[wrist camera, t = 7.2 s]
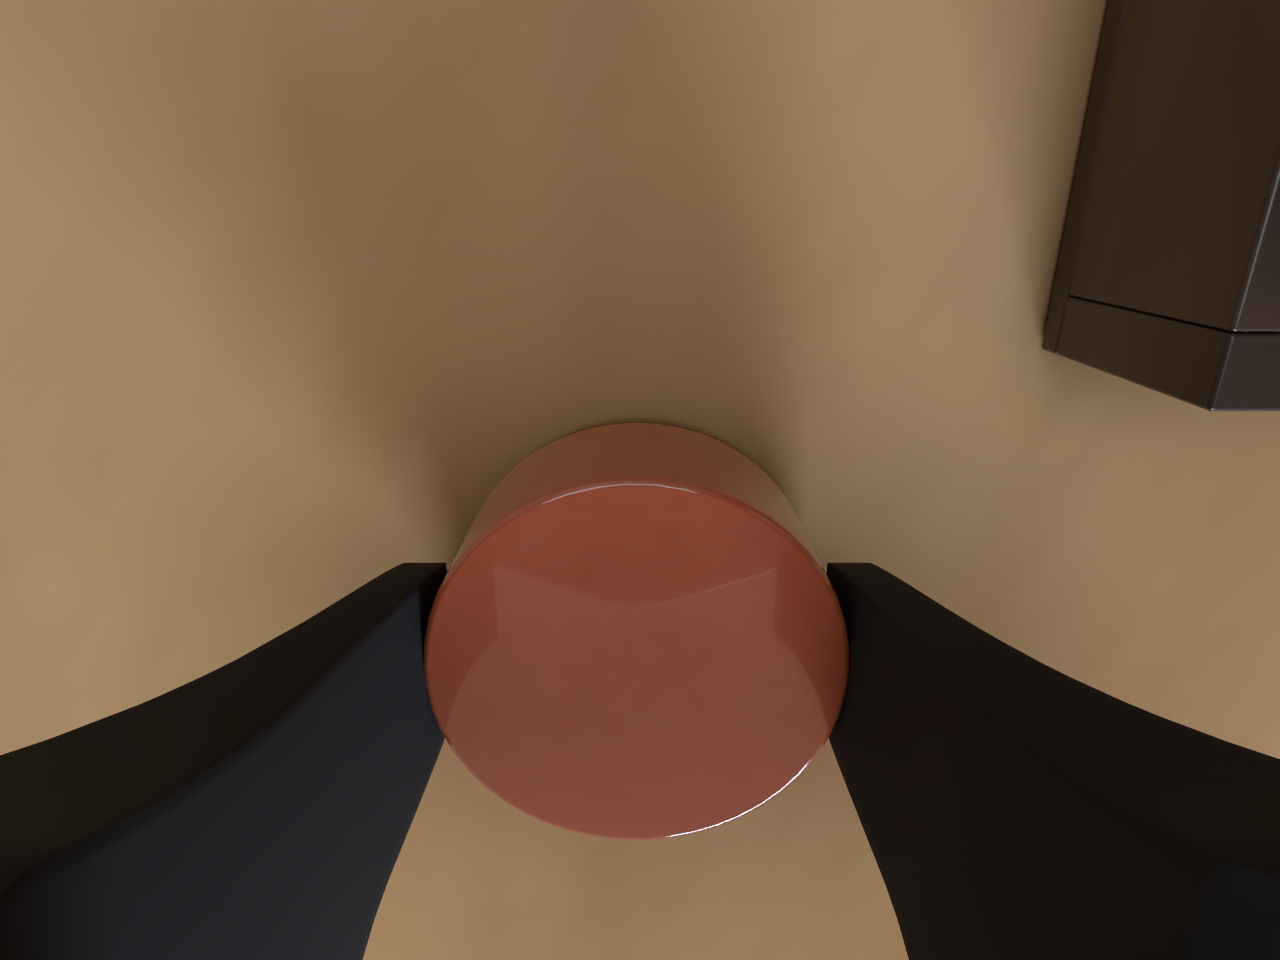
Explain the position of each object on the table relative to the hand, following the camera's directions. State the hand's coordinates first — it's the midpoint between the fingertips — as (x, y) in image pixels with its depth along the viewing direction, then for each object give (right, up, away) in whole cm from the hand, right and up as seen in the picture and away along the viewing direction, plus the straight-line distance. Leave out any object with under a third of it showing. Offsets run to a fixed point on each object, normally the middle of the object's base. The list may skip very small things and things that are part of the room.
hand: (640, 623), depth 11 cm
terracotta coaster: (0, 0, +1) cm, 1 cm away
